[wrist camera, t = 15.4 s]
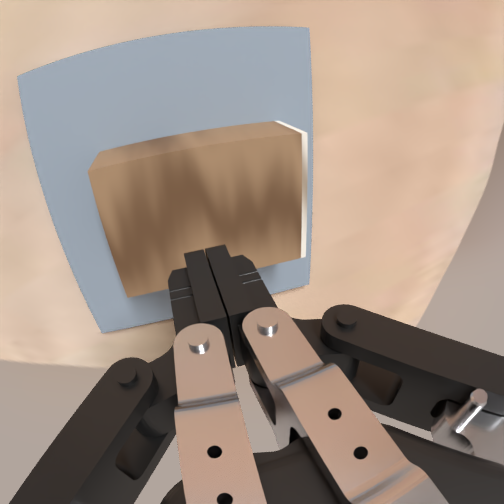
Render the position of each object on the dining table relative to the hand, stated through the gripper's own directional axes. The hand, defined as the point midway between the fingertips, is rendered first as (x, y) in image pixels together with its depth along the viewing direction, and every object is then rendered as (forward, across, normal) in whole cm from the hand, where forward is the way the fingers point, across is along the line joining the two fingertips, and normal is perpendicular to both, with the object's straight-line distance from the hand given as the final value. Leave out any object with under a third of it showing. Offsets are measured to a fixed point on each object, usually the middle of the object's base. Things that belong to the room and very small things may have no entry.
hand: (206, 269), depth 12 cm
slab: (+6, +4, 0) cm, 7 cm away
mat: (+8, 0, 0) cm, 8 cm away
